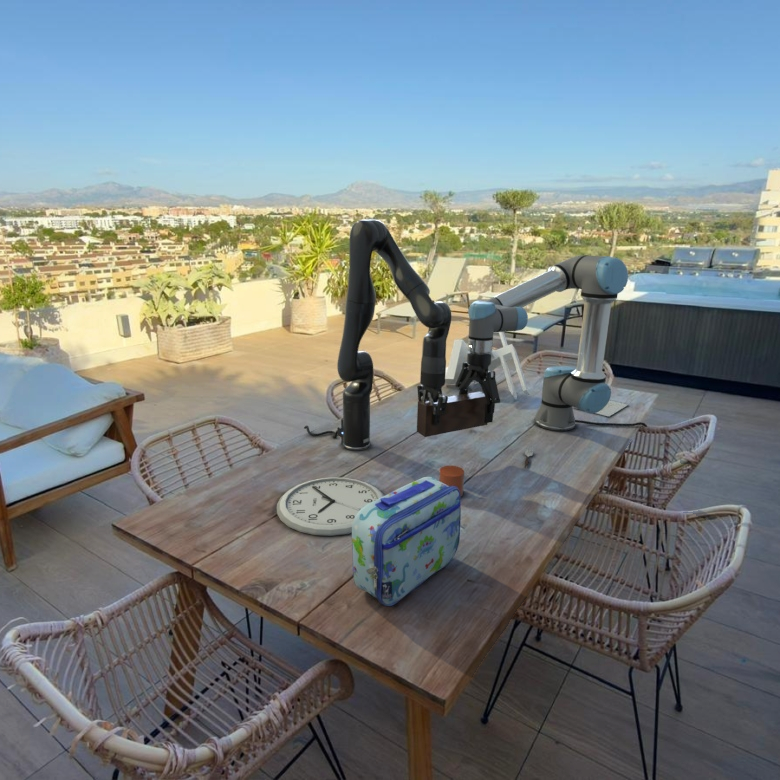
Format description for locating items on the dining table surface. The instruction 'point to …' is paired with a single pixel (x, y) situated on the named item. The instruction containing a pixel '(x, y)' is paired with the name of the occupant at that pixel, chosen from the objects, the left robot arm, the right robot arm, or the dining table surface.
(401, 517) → the lunch box
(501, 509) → the dining table surface
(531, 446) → the fork
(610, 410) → the invitation card
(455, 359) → the white plastic object
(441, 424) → the walnut box
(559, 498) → the dining table surface
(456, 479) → the orange clay cylinder
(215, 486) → the dining table surface
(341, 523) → the wall clock
